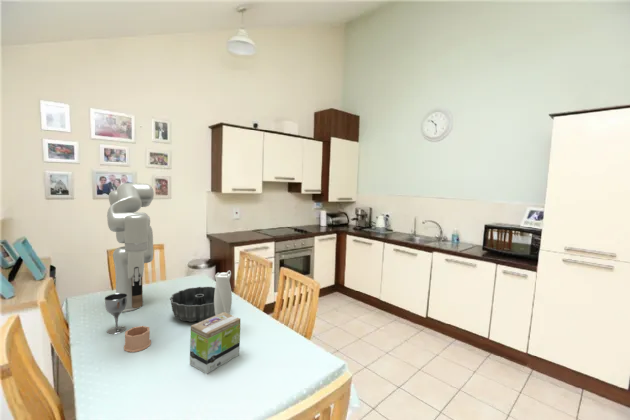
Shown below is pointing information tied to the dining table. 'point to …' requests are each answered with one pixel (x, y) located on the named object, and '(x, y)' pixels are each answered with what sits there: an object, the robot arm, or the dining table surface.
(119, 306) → the wine glass
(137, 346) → the octagonal terracotta pot
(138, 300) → the brown wooden dowel
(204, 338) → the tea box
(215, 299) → the skyscraper
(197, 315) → the bundt pan
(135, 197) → the robot arm
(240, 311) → the dining table surface
